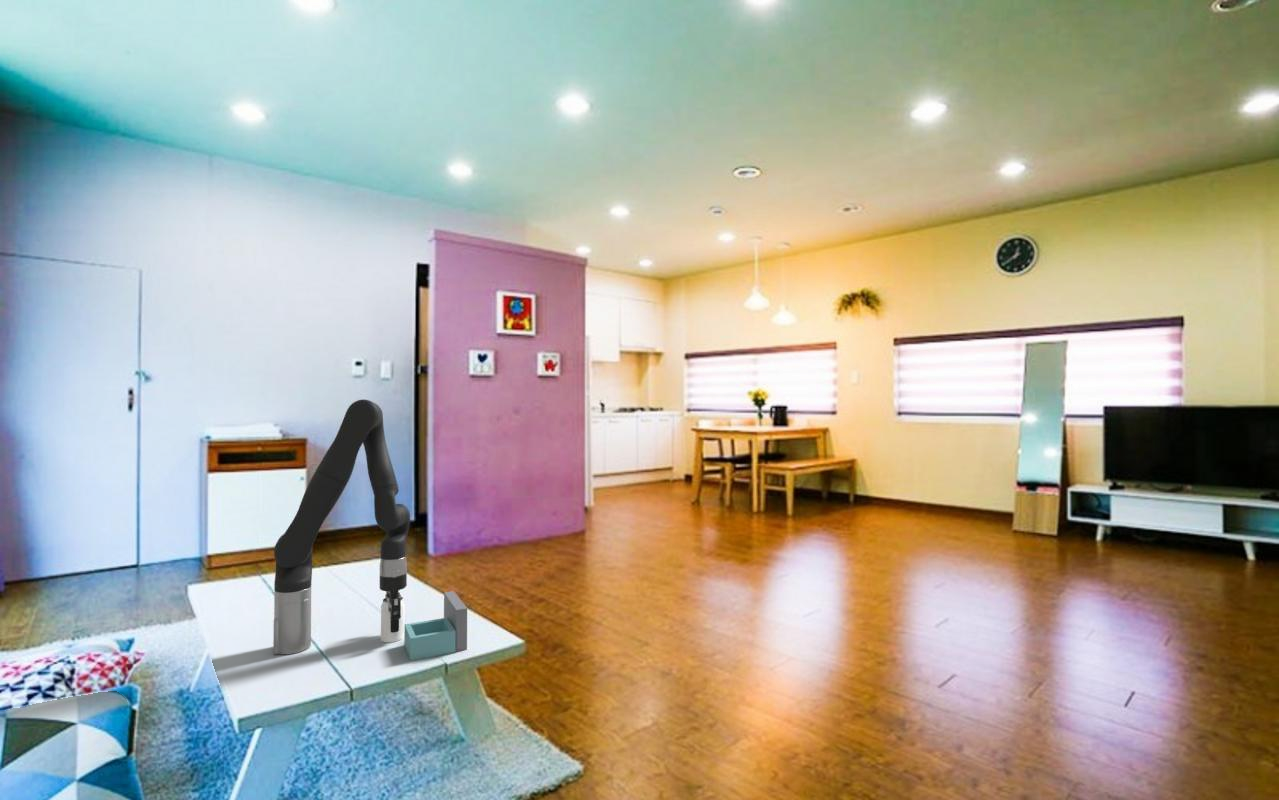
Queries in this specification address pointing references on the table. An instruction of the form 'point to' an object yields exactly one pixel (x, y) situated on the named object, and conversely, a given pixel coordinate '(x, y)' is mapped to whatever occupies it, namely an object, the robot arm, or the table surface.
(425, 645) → the socket block
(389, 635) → the can
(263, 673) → the table surface
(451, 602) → the wall board
